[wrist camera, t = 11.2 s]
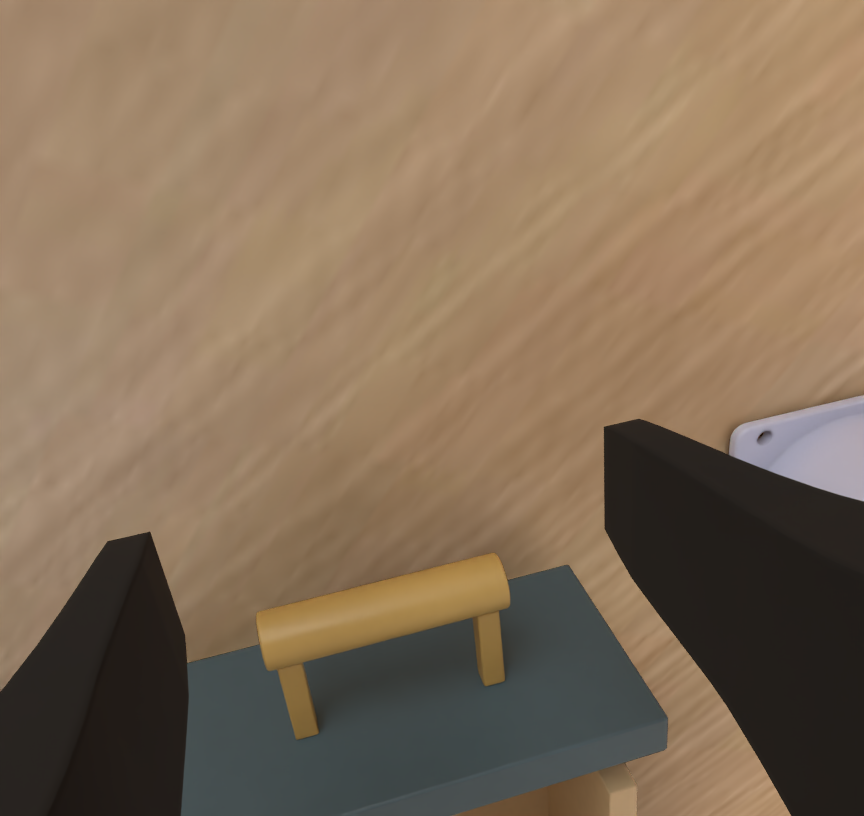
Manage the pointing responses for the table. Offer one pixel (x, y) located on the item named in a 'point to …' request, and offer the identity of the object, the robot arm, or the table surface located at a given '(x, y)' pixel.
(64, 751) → the robot arm
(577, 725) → the drawer
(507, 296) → the table surface
